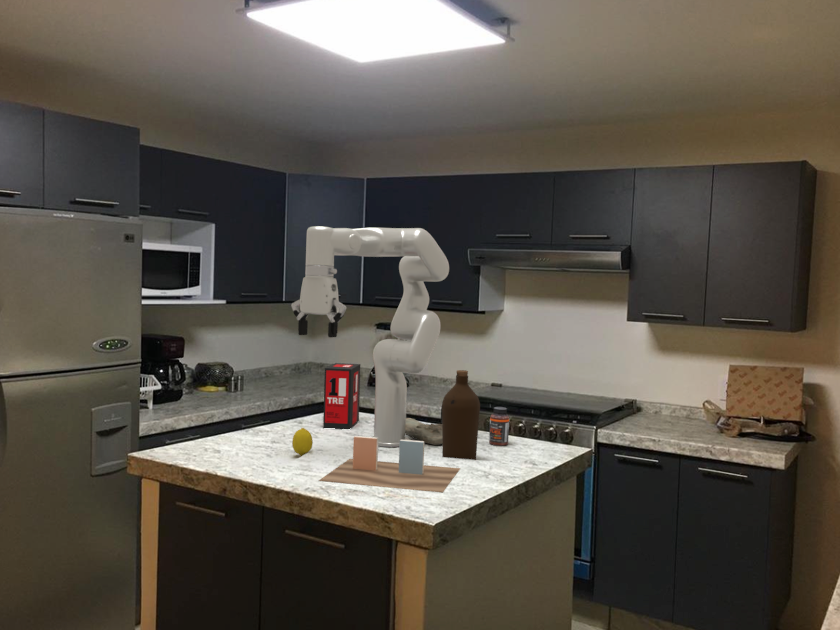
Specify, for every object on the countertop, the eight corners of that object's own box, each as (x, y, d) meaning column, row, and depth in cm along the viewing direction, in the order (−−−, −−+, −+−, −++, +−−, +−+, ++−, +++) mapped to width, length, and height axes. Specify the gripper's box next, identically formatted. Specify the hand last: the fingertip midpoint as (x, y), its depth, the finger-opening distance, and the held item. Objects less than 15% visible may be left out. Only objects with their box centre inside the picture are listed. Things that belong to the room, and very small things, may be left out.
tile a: (354, 467, 196) (355, 435, 196) (377, 469, 195) (378, 437, 194) (352, 468, 194) (353, 437, 194) (375, 470, 193) (376, 438, 193)
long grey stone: (415, 429, 266) (388, 431, 262) (415, 413, 266) (387, 416, 262) (457, 444, 233) (427, 448, 230) (456, 427, 233) (426, 430, 230)
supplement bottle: (486, 444, 236) (487, 408, 235) (492, 441, 241) (493, 405, 241) (505, 447, 233) (506, 410, 233) (510, 443, 239) (511, 407, 238)
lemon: (308, 459, 209) (308, 430, 209) (288, 458, 210) (289, 428, 210) (314, 455, 214) (315, 426, 214) (296, 453, 215) (296, 425, 215)
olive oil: (479, 464, 209) (482, 373, 208) (440, 463, 209) (443, 372, 208) (476, 456, 220) (480, 369, 219) (439, 454, 220) (442, 367, 219)
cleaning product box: (349, 429, 252) (351, 369, 252) (323, 428, 253) (324, 368, 252) (358, 421, 269) (360, 364, 268) (333, 419, 270) (335, 363, 269)
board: (349, 464, 205) (349, 458, 205) (460, 474, 198) (460, 468, 198) (318, 487, 182) (318, 480, 182) (442, 498, 175) (442, 492, 175)
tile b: (400, 471, 193) (401, 439, 193) (423, 473, 192) (424, 441, 192) (398, 472, 192) (399, 440, 192) (422, 474, 191) (423, 442, 190)
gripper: (354, 273, 206) (352, 337, 207) (301, 272, 214) (299, 333, 215) (338, 273, 199) (336, 338, 200) (285, 271, 207) (283, 334, 208)
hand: (317, 336), depth 207 cm, fingers open, 9 cm apart
